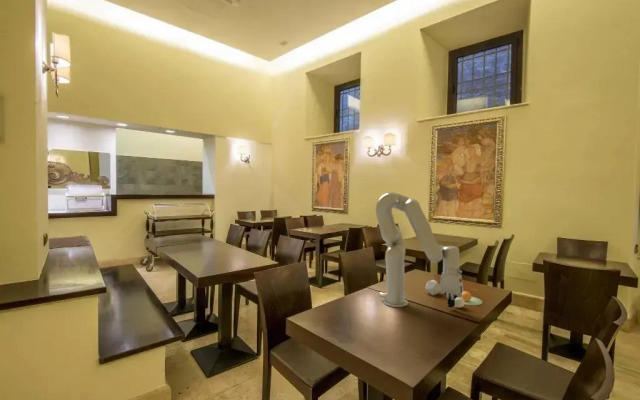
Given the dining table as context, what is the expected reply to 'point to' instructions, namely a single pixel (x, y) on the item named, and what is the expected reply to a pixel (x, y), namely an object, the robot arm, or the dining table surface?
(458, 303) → the cue ball
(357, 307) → the dining table surface
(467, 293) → the object ball
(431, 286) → the die
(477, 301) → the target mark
